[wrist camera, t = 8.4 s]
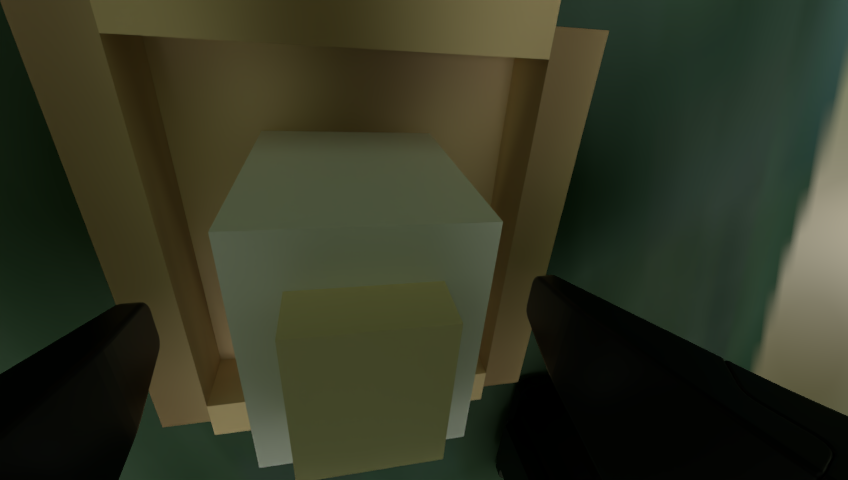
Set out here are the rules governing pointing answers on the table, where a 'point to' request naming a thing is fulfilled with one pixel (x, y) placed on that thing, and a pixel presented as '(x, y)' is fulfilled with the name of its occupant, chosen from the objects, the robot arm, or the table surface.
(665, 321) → the table surface
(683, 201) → the table surface
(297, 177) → the plug block
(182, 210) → the wooden tray
